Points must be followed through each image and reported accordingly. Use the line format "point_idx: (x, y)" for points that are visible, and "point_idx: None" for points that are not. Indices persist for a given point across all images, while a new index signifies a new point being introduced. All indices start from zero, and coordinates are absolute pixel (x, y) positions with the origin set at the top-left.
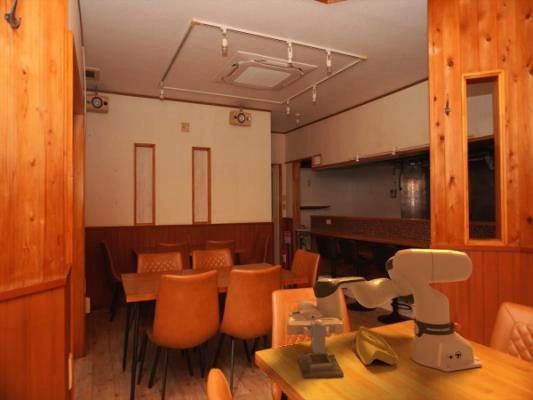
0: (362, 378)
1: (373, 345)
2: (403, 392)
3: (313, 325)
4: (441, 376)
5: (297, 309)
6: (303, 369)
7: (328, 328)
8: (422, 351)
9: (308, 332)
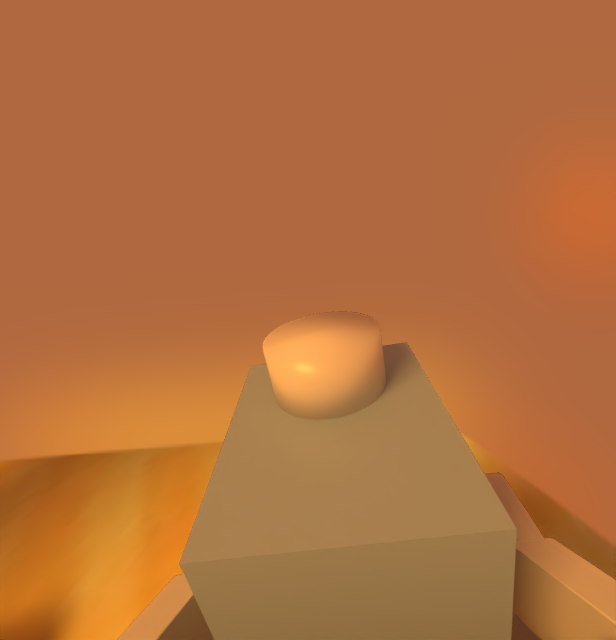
0: (158, 559)
1: None
2: (102, 464)
3: (404, 346)
4: None
5: None
6: (512, 615)
7: (132, 623)
8: None
9: (495, 475)
